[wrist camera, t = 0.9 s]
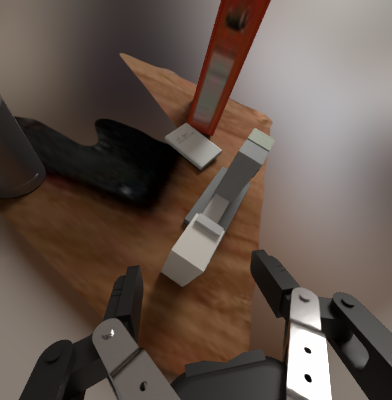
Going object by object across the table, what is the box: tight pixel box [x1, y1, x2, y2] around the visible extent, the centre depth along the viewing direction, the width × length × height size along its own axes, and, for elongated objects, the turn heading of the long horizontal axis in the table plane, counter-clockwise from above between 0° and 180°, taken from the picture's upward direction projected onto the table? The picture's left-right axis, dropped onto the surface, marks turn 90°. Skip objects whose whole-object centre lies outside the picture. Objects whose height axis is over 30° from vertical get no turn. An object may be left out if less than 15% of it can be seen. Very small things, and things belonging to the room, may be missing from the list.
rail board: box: [183, 128, 275, 242], centre depth 36 cm, size 8×18×14 cm, turn 150°
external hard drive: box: [165, 123, 222, 170], centre depth 48 cm, size 2×8×12 cm
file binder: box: [187, 0, 271, 136], centre depth 44 cm, size 8×17×32 cm, turn 172°
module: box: [161, 213, 225, 287], centre depth 28 cm, size 5×6×13 cm
